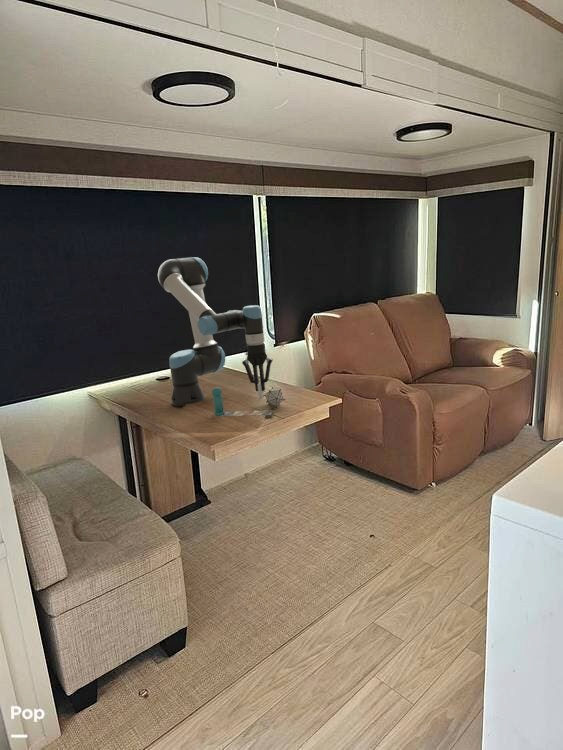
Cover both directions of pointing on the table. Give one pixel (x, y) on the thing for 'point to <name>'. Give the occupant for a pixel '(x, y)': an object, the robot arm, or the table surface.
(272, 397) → the game die
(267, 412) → the board
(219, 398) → the pawn
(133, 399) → the table surface
